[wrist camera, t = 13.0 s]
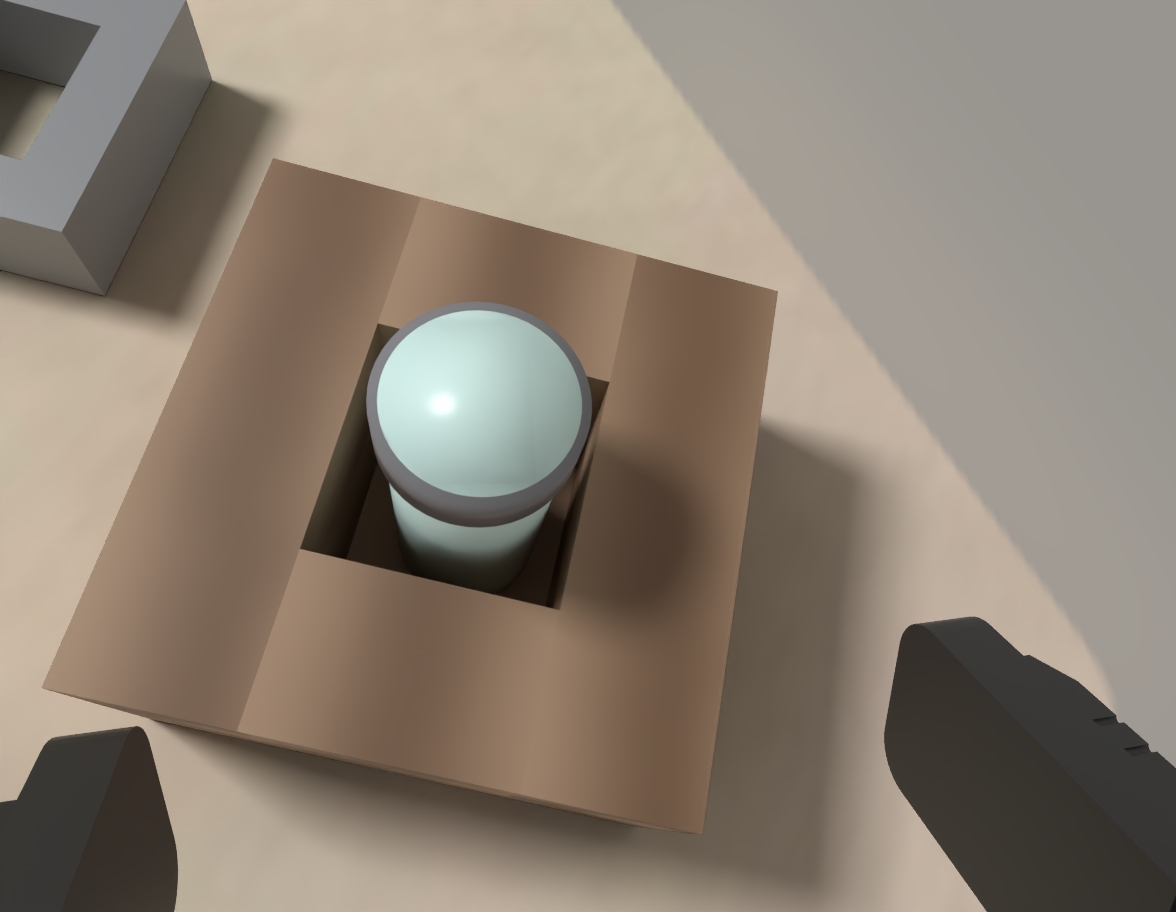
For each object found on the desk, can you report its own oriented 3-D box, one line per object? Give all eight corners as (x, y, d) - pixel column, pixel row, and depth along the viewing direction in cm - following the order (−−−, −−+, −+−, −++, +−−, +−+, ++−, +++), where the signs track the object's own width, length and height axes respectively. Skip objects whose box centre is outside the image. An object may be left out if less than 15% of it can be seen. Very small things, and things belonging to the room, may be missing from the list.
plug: (374, 589, 26) (337, 477, 16) (413, 451, 27) (400, 279, 18) (522, 621, 26) (567, 530, 17) (552, 484, 28) (610, 331, 18)
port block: (148, 718, 24) (41, 687, 18) (310, 298, 30) (273, 158, 23) (636, 826, 25) (702, 834, 19) (707, 398, 31) (777, 291, 24)
